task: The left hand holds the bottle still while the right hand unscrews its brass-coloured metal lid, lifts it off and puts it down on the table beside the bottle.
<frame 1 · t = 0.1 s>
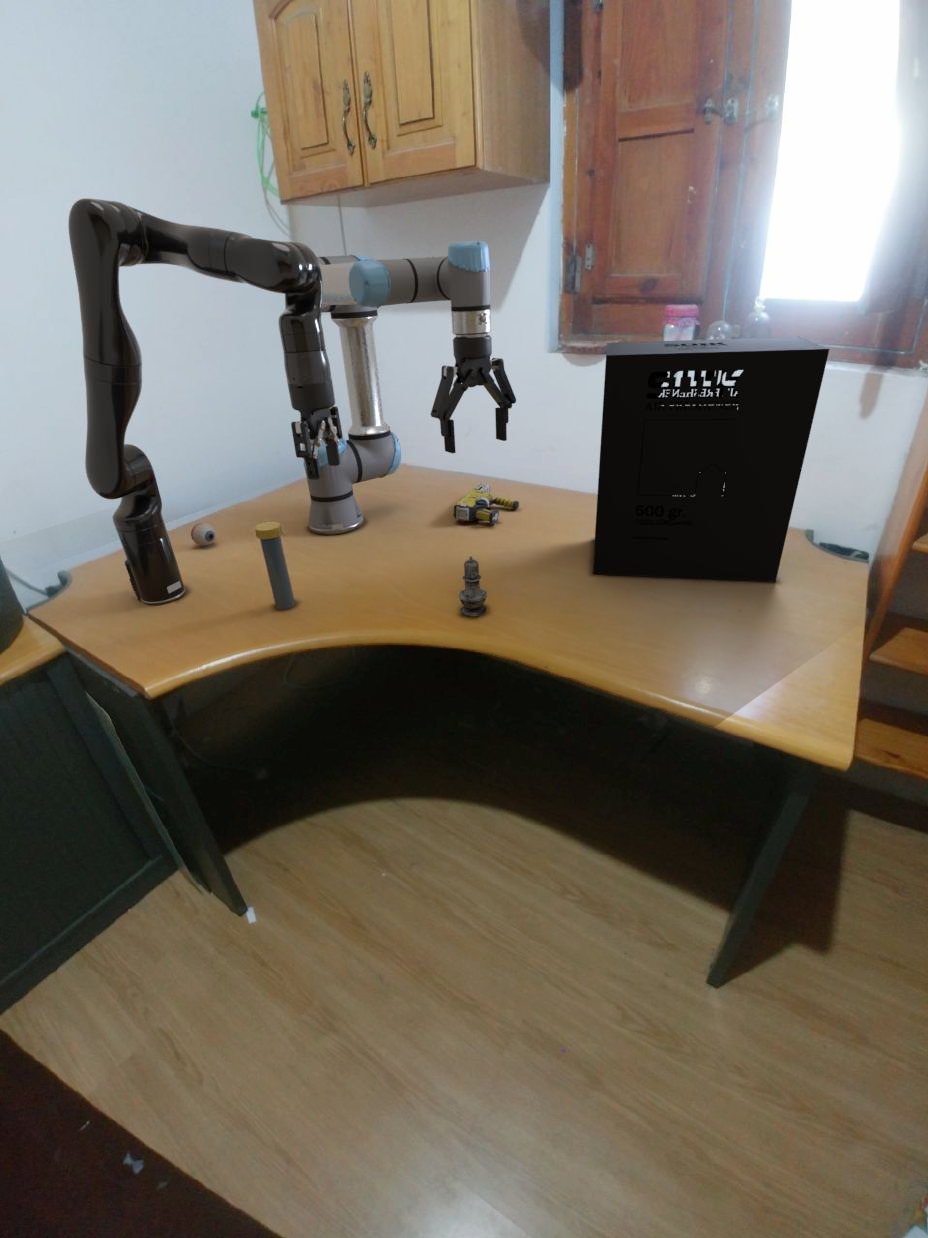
left hand: (325, 471, 111), 29 cm above the table, tool pointing down, fingers open, 8 cm apart
right hand: (476, 445, 127), 28 cm above the table, tool pointing down, fingers open, 13 cm apart
grey chess piece: (473, 610, 123), on the table
toy gun: (491, 511, 173), on the table
cardboard box: (677, 559, 139), on the table
eyeball: (206, 545, 161), on the table
lid: (267, 527, 120), point 18 cm above the table, screwed on, not yet turned
bottle: (285, 605, 129), on the table
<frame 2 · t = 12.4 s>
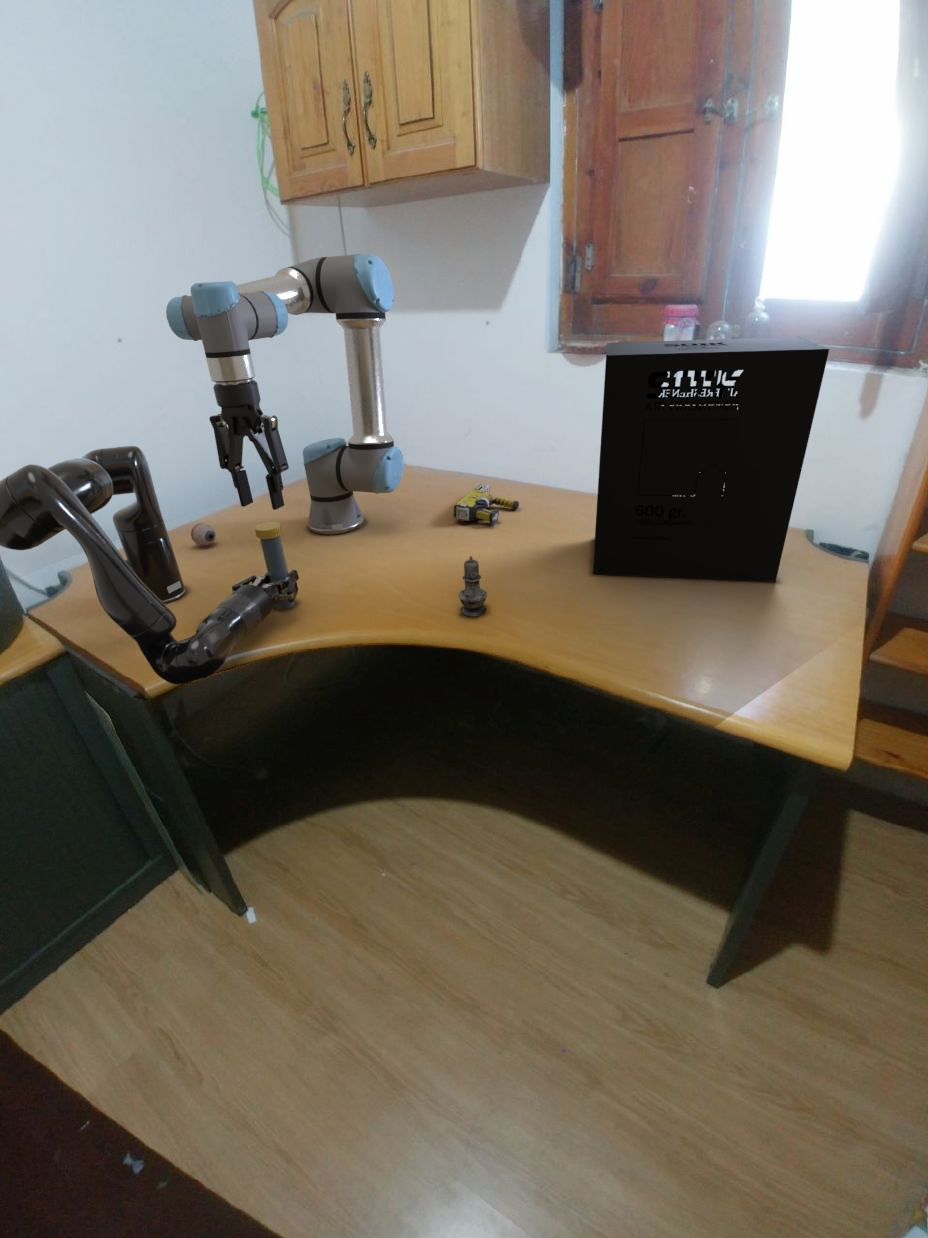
left hand: (285, 573, 128), 6 cm above the table, tool horizontal, fingers closed on bottle, 4 cm apart
right hand: (262, 505, 118), 22 cm above the table, tool pointing down, fingers open, 7 cm apart
bottle: (285, 605, 129), on the table, touching left hand
everything else where it was.
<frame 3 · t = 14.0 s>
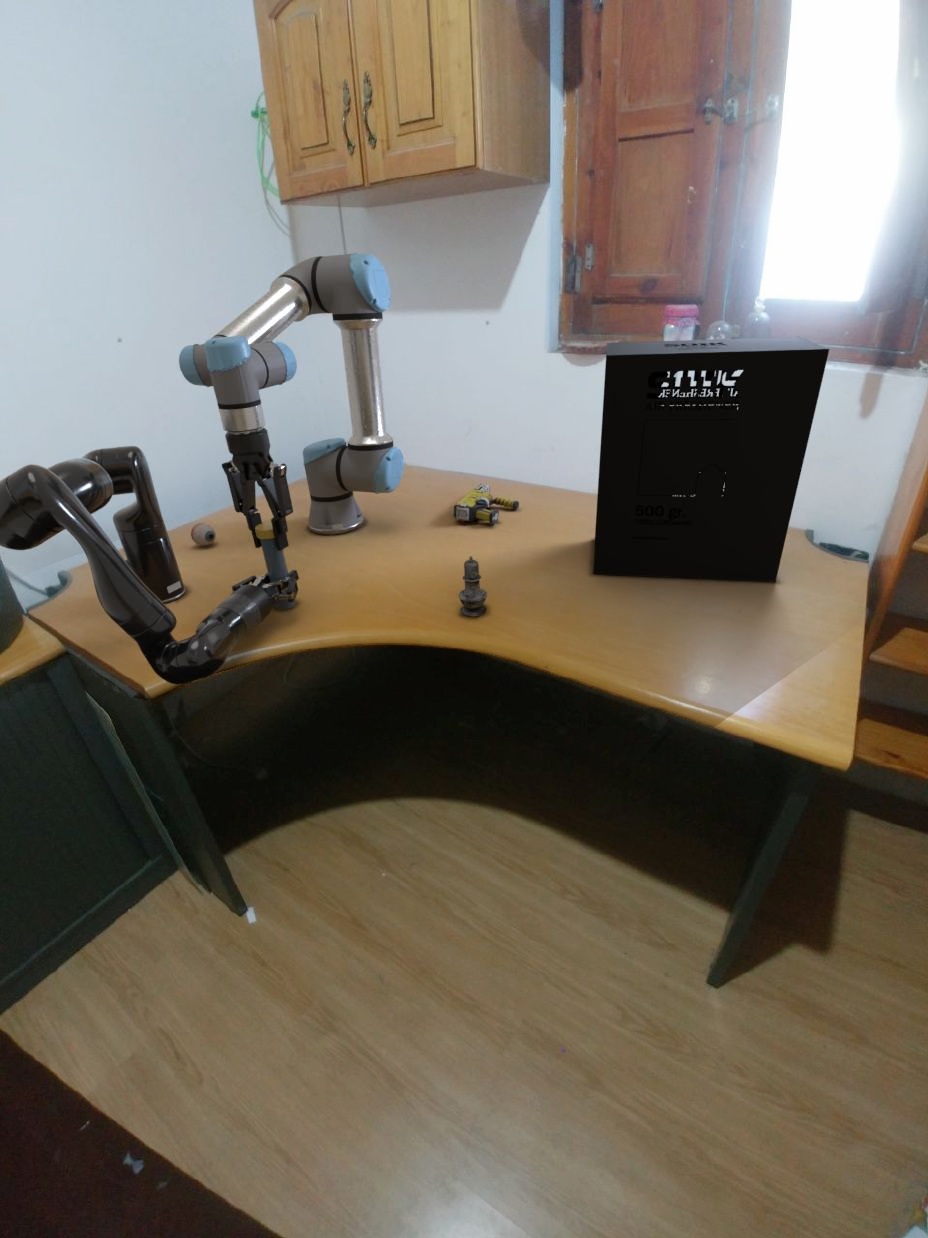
left hand: (285, 573, 128), 6 cm above the table, tool horizontal, fingers closed on bottle, 4 cm apart
right hand: (272, 546, 122), 14 cm above the table, tool pointing down, fingers closed on lid, 5 cm apart
lid: (267, 527, 120), point 18 cm above the table, screwed on, not yet turned, touching right hand
bottle: (285, 605, 129), on the table, touching left hand
everything else where it was.
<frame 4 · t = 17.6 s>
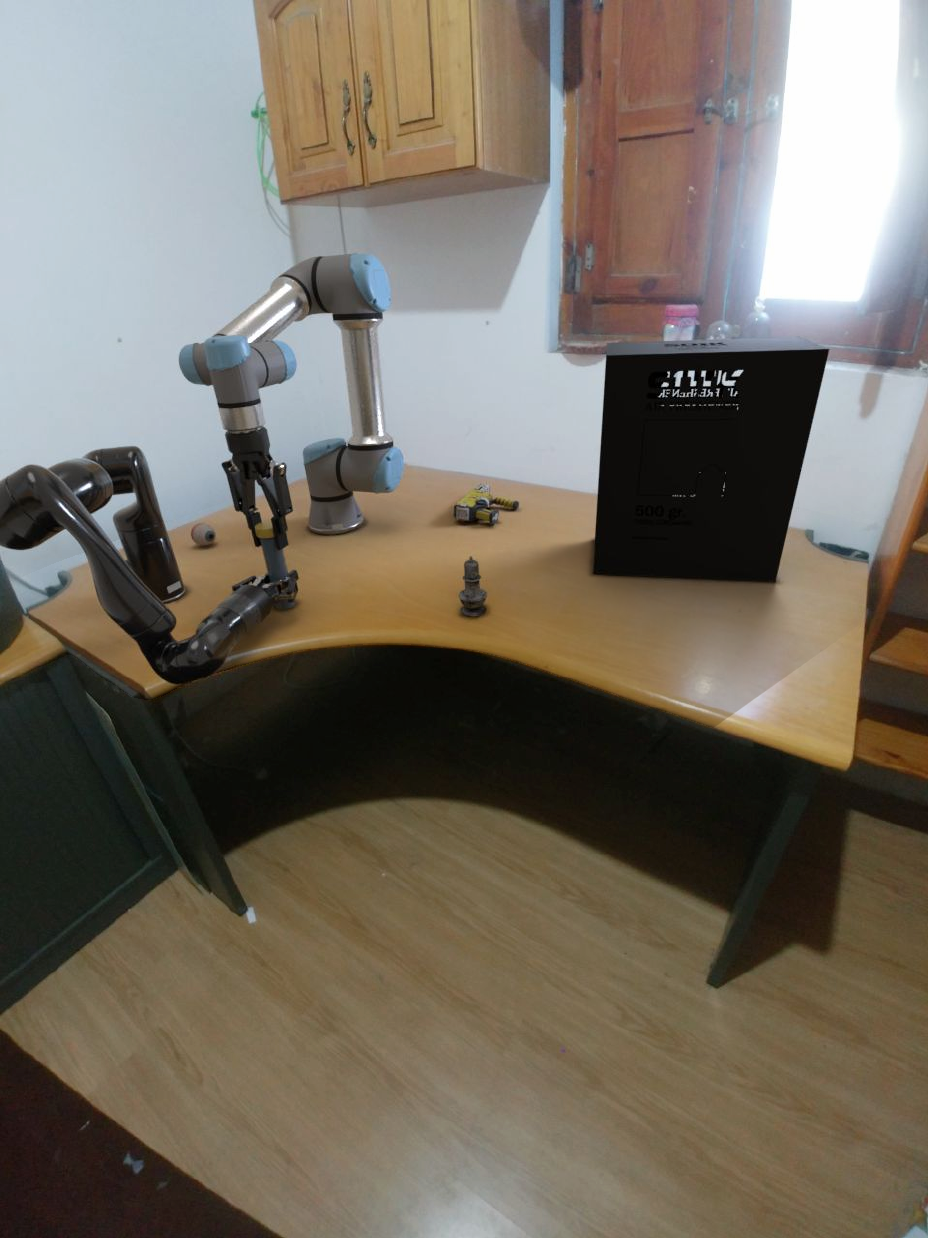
left hand: (285, 573, 128), 6 cm above the table, tool horizontal, fingers closed on bottle, 4 cm apart
right hand: (271, 545, 122), 14 cm above the table, tool pointing down, fingers closed on lid, 5 cm apart
lid: (267, 526, 120), point 18 cm above the table, turned 128° so far, risen 0.2 cm, still on its thread, touching right hand
bottle: (285, 605, 129), on the table, touching left hand
everything else where it was.
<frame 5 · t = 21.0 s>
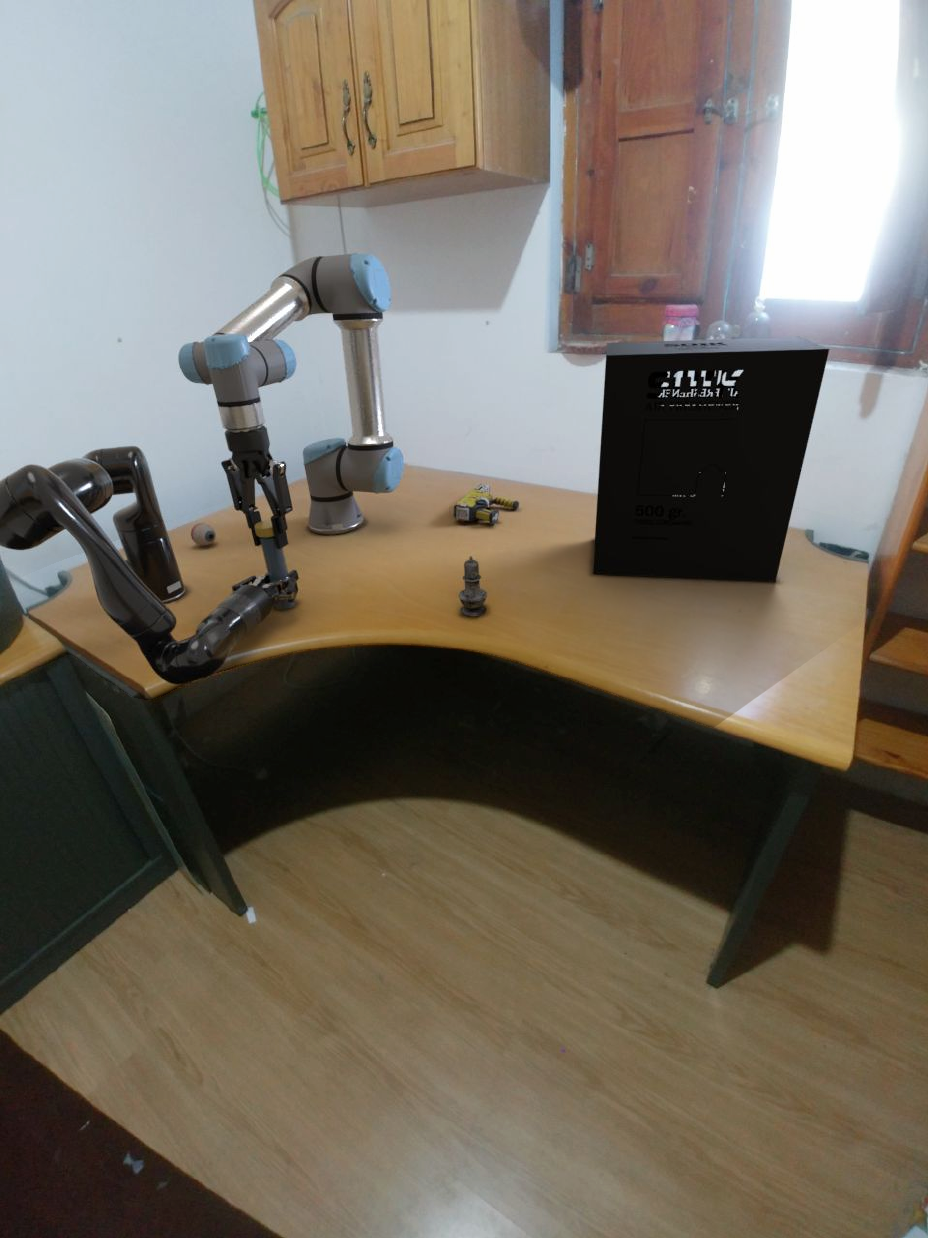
left hand: (285, 573, 128), 6 cm above the table, tool horizontal, fingers closed on bottle, 4 cm apart
right hand: (271, 544, 122), 14 cm above the table, tool pointing down, fingers closed on lid, 5 cm apart
lid: (267, 525, 120), point 18 cm above the table, turned 257° so far, risen 0.4 cm, still on its thread, touching right hand
bottle: (285, 605, 129), on the table, touching left hand
everything else where it was.
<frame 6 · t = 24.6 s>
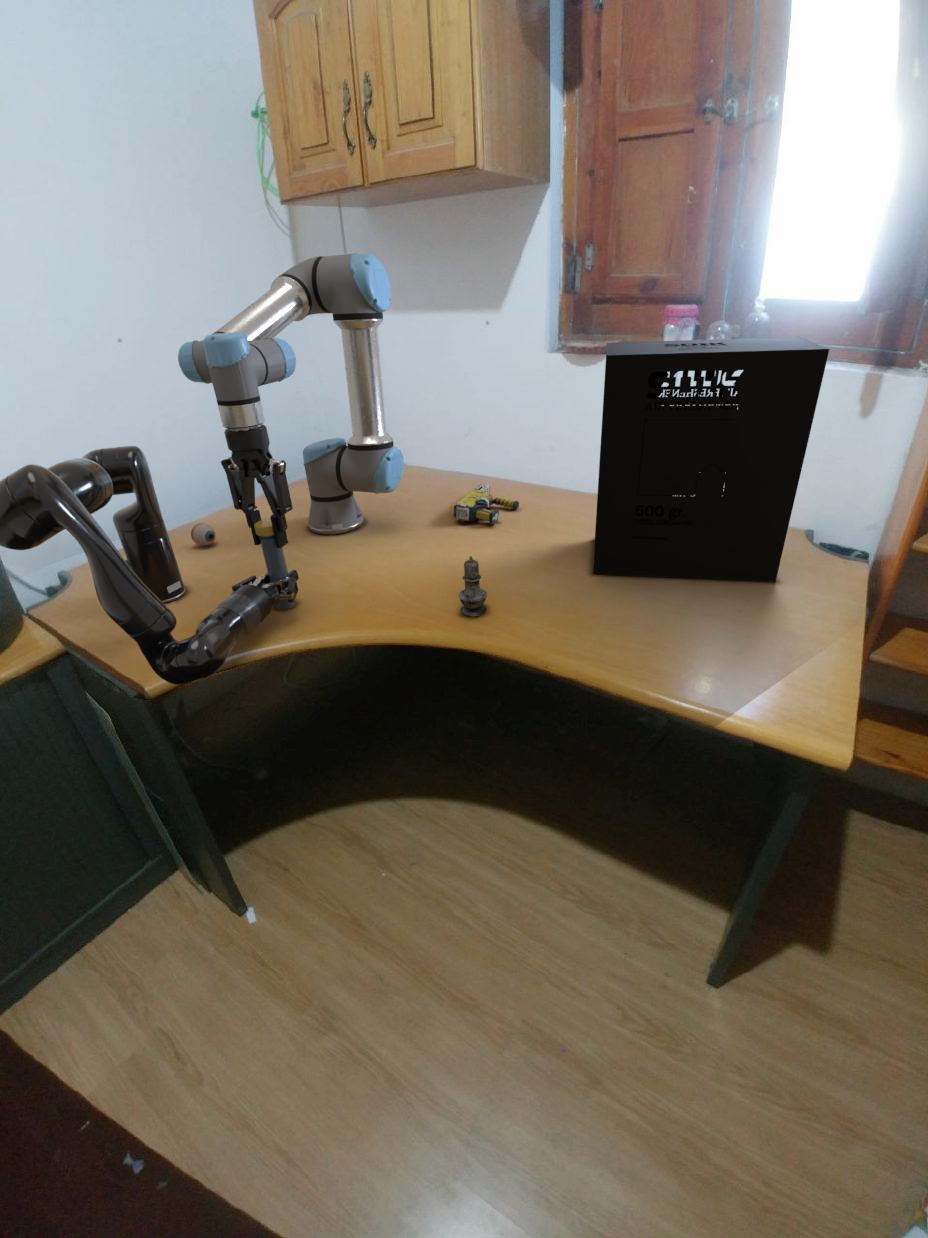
left hand: (285, 573, 128), 6 cm above the table, tool horizontal, fingers closed on bottle, 4 cm apart
right hand: (271, 543, 122), 14 cm above the table, tool pointing down, fingers closed on lid, 5 cm apart
lid: (267, 524, 120), point 18 cm above the table, turned 385° so far, risen 0.6 cm, still on its thread, touching right hand
bottle: (285, 605, 129), on the table, touching left hand
everything else where it was.
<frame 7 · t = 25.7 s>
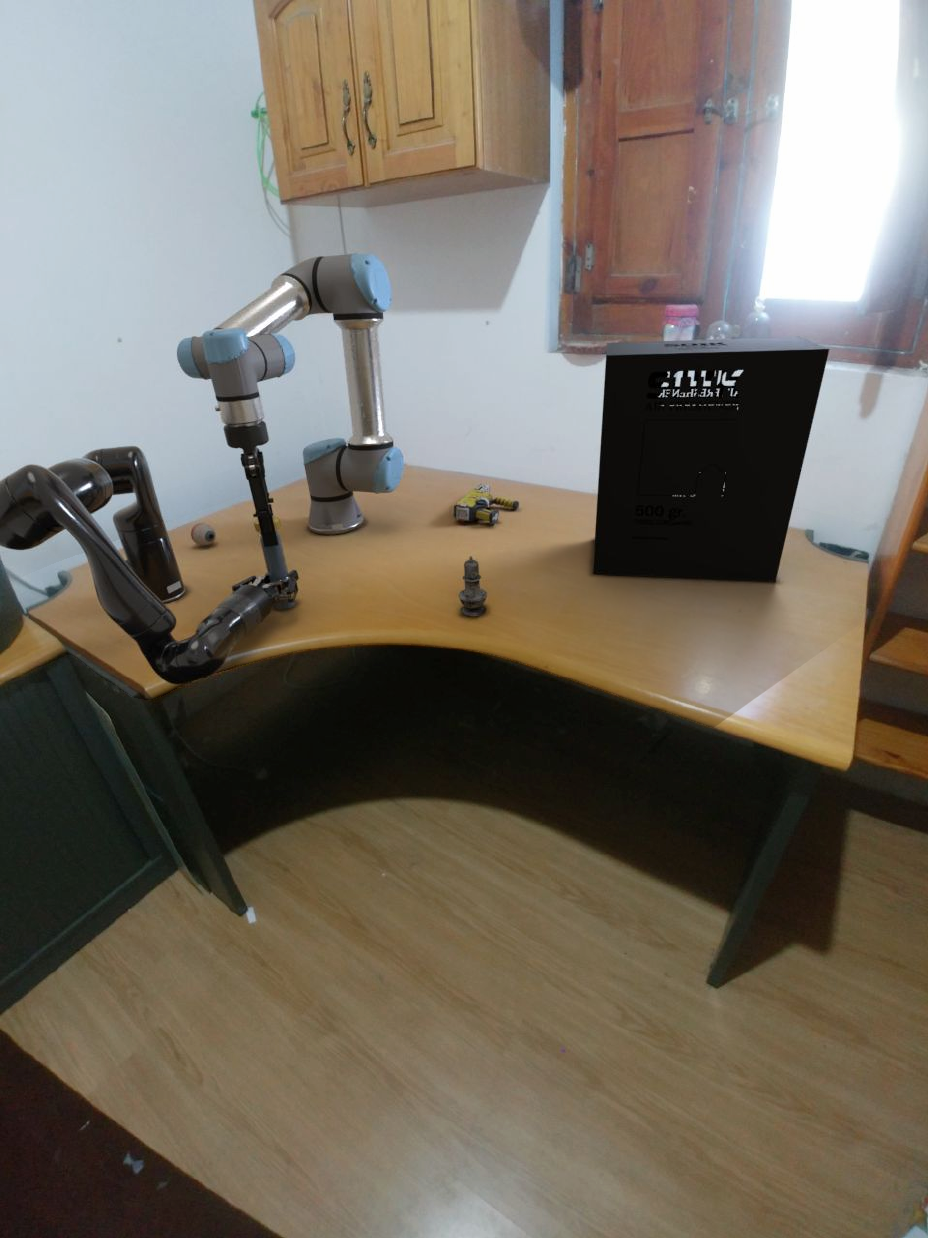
left hand: (285, 573, 128), 6 cm above the table, tool horizontal, fingers closed on bottle, 4 cm apart
right hand: (271, 540, 122), 15 cm above the table, tool pointing down, fingers closed on lid, 5 cm apart
lid: (266, 521, 120), point 19 cm above the table, off its thread, touching right hand
bottle: (285, 605, 129), on the table, touching left hand
everything else where it was.
when the right hand's fingers open (0 cm above the table, at t = 31.3 s): lid drops 2 cm, point 2 cm above the table.
when the left hand's fingers open (6 cm above the table, at t = 31.9 s): bottle stays where it is, on the table.
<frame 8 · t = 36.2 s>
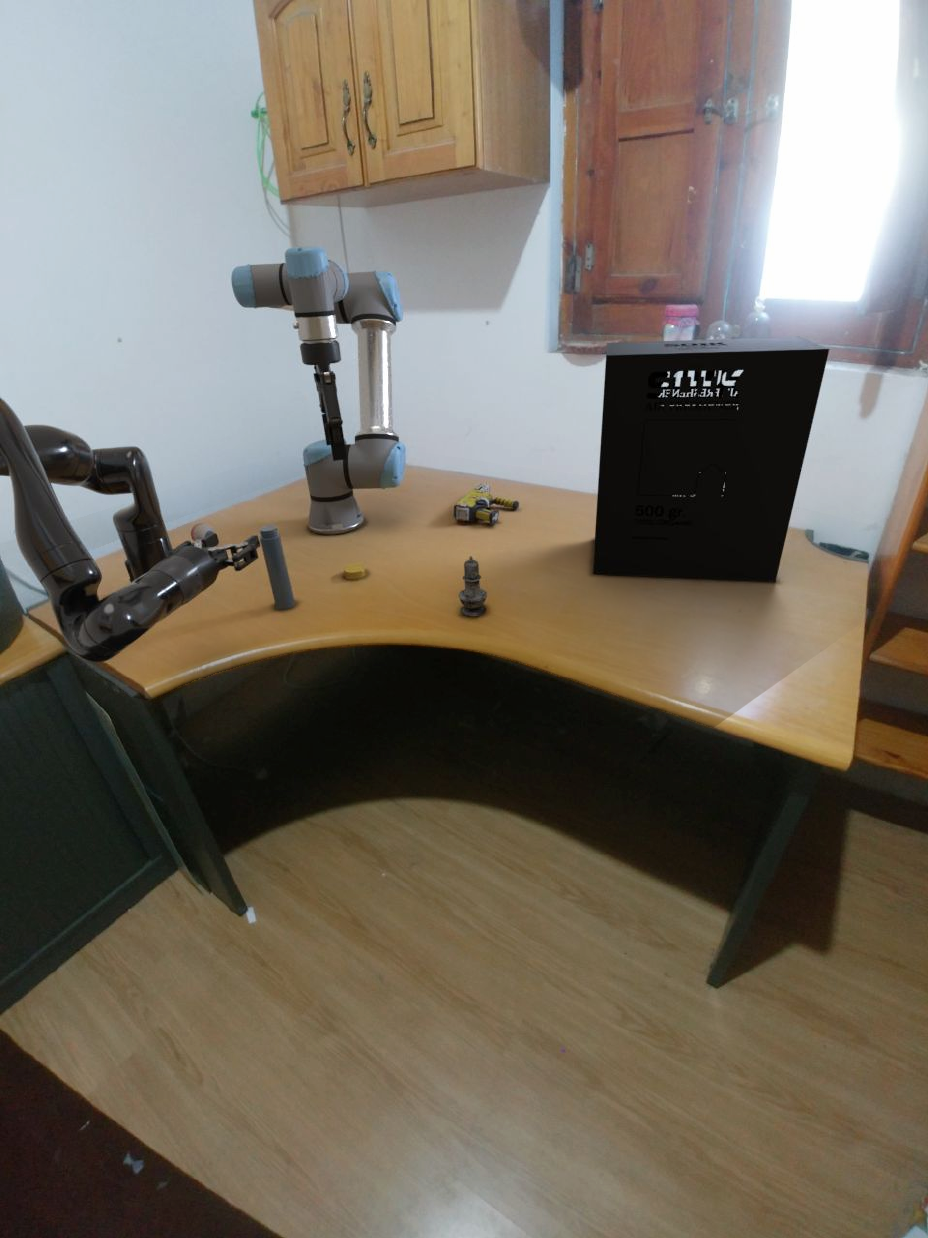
left hand: (236, 538, 111), 20 cm above the table, tool horizontal, fingers open, 8 cm apart
right hand: (336, 451, 127), 29 cm above the table, tool pointing down, fingers open, 13 cm apart
lid: (354, 569, 140), point 2 cm above the table, off its thread
bottle: (285, 605, 129), on the table
everything else where it was.
at the end: lid came off its thread; lid point 1.5 cm above the table; the left hand is holding nothing; the right hand is holding nothing; bottle tilted 0°; bottle moved 0.0 cm from its start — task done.
